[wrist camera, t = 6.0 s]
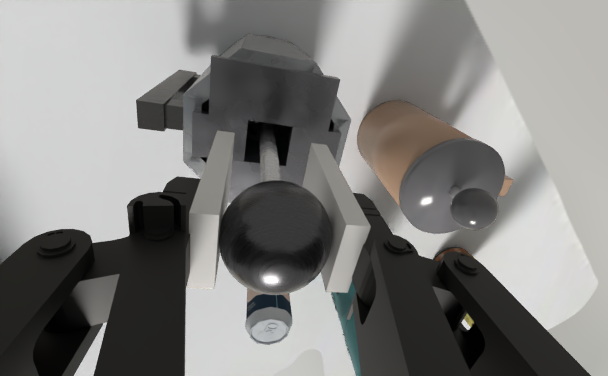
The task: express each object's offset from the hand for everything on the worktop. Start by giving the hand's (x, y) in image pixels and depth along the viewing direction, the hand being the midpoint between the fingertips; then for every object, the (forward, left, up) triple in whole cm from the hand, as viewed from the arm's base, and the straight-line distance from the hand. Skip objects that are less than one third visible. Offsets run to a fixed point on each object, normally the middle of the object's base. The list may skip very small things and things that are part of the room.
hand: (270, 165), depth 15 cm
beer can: (+3, -21, -18) cm, 28 cm away
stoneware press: (+16, -3, -18) cm, 25 cm away
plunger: (0, 0, -12) cm, 12 cm away
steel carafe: (-1, 0, -18) cm, 18 cm away
